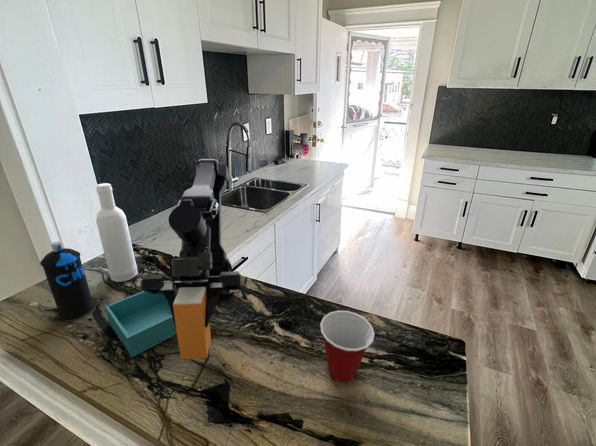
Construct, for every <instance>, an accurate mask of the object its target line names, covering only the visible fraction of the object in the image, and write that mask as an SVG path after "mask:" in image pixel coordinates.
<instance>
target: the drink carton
mask: <svg viewBox="0 0 596 446" xmlns="http://www.w3.org/2000/svg"><path fill="white" fill-rule="evenodd" d="M177 292H178V294H177V296H176V298H175V301H174V303H173V309H174V316H175V323H176V330H177V334H176V336H177V342H178V350H179V357H180V360H189V359H190V360H191V359H207V358H208V355H209V351H210V346H211V345H210V344H211V342H212V336H211V335H212V334H211V325H210V324H211V323H210V322H209V324H208V327H205V312H206V305H207V291H206V287H185V288H178V290H177Z"/></svg>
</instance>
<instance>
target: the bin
mask: <svg viewBox="0 0 596 446" xmlns="http://www.w3.org/2000/svg"><path fill="white" fill-rule="evenodd" d="M104 309H105V311H106V315H107V319H108V322H109V325H110V327H111V328H112V330H113V331H114V332H115V334H116V335H117V337H118V338H119V340H120V342H121V343H122V345H123V346H124V348H125V350H126V351H127V352H128V354H129V355H130V357H131V358H134V357H137V356H138V355H139V354H140V355H141V354H142V353H144V352H145V351H147V350H149V349H151V348H154V347H155V346H157V345H160V344H161V343H163V342H165V341H166V340H168V339H170V338H172V337H174V336H177V330H176V328H175V324H174V320H173V317H172V313H171V309H170V306H169V304H168V302H167V299H166V298H165V297H164V296H162V295H160V294H148V293H146V292H144V291H140V292H137V293H135V294H133V295H130V296H127V297H125V298H123V299H120V300H118V301H115V302H113V303H110V304H108V305H105V306H104Z"/></svg>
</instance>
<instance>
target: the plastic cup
mask: <svg viewBox="0 0 596 446" xmlns="http://www.w3.org/2000/svg"><path fill="white" fill-rule="evenodd" d="M319 325H320V333H321V335H322V337H323V343H324V349H325V356H326V357H325V358H326V363H327V368H328V373H329V375H330V376H331V378H332V379H334V380H335V381H338V382H340V383H348V382H350V381H353V379H354V378H355V377H356V374H357V373H358V369H359V367H360V366H361V363H362V361H363V357H364V355H365V352H366V351H367V349H368V348H369V346H370V345H372V343H373V342H374V338H375V331H374V328H373V326H372V324H371V323H370V322H369V321H368V320H367V319H366V318H365V317H364V316H362V315H360V314H358V313H356V312H353V311H349V310H334V311H330V312H328V313H327V314H326V315H324V316H323V317H322V319H321V322H320V324H319Z"/></svg>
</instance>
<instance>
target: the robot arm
mask: <svg viewBox="0 0 596 446" xmlns="http://www.w3.org/2000/svg"><path fill="white" fill-rule="evenodd" d="M195 167H196V169H195V171H196V173H195V176H194V180H193V183H192V186H191V187H190V188H188V189H185V190H184V192H183V194H182V196H181V198H180V199H179V200H178V202H177V204H176V206H175V208H174V209H172V211H171V212H170V214H169V215H168V218H167V219H168V225H169V227H170V228H171V229H172V231H173V232H174V233H175V235H176V236H177V237H178V238H179V239H180V240H181V248H180V250H179V253H178V254H179V255H178V257H176V258H173V259H171V271H172V272H171V277H172V278H169V277H167V276H166V275H164V274H150V275H149V274H148V275H147V274H146V275H144V276H143V277H142V278H141V280H140V285H139V291H141V292H143V291H144V292H146V293H148V294H160V295H162V296H164V297H165V298H166V299H167V302H168V304H169V306H170V309H171V313H172V317H173V320H174V324H175V328H176V323H175V316H174V309H173V303H174V301H175V298H176V296H177V294H178V291H179V289H180V288H185V287H206V291H207V305H206V312H205V327H208V324H209V323H210V321H211V319H212V316H213V314H214V311H215V310H216V309H215V308H216V307H217V305H218V303H219V301H220V300H222V299H224V298H226V297H228V296H230V295H232V294H233V291H240V290H243V277H242V274H241V273H240V272H239V271H237V270H235V271H233V266H232V263H231V261H230V259H229V258H228V254H227V252H226V250H225V248H224V247H223V246H222V196H223V194H224V193H225V192H226V189H227V185H228V184H227V182H228V181H230V180H229V179H230V177H229V175H230V174H229V168H228V166H227V165H226V164H225V163H222V162H220V161H219V160H218V159H215V158H200V159H198V160H197V164H196V166H195Z"/></svg>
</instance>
